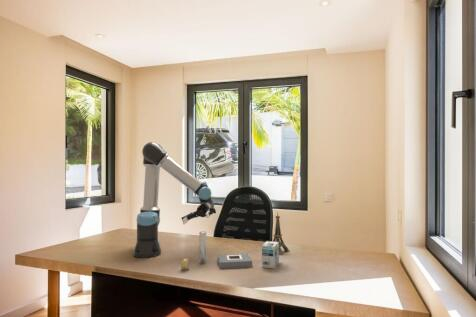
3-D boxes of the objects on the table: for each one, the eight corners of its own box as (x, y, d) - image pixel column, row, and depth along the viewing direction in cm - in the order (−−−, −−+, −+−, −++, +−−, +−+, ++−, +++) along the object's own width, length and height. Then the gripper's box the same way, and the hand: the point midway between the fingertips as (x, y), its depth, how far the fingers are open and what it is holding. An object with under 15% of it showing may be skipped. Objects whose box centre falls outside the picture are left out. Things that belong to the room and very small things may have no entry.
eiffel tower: (281, 255, 178) (281, 210, 178) (265, 252, 184) (265, 209, 184) (290, 251, 186) (290, 208, 187) (274, 248, 192) (274, 207, 193)
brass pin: (181, 271, 152) (180, 260, 152) (181, 268, 155) (181, 258, 156) (188, 270, 152) (188, 260, 152) (188, 268, 156) (188, 258, 156)
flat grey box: (220, 268, 155) (219, 262, 155) (217, 260, 169) (217, 254, 169) (252, 267, 157) (252, 260, 158) (247, 258, 171) (247, 252, 171)
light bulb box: (275, 268, 155) (274, 246, 155) (261, 267, 157) (261, 245, 157) (279, 262, 165) (279, 241, 165) (266, 261, 167) (266, 240, 167)
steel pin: (199, 264, 162) (199, 233, 162) (199, 262, 166) (199, 231, 166) (206, 264, 163) (206, 232, 163) (206, 262, 166) (206, 231, 166)
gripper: (225, 210, 191) (218, 219, 170) (186, 220, 194) (175, 231, 173) (221, 198, 190) (214, 206, 169) (183, 209, 194) (171, 218, 173)
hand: (195, 218), depth 171 cm, fingers open, 13 cm apart
